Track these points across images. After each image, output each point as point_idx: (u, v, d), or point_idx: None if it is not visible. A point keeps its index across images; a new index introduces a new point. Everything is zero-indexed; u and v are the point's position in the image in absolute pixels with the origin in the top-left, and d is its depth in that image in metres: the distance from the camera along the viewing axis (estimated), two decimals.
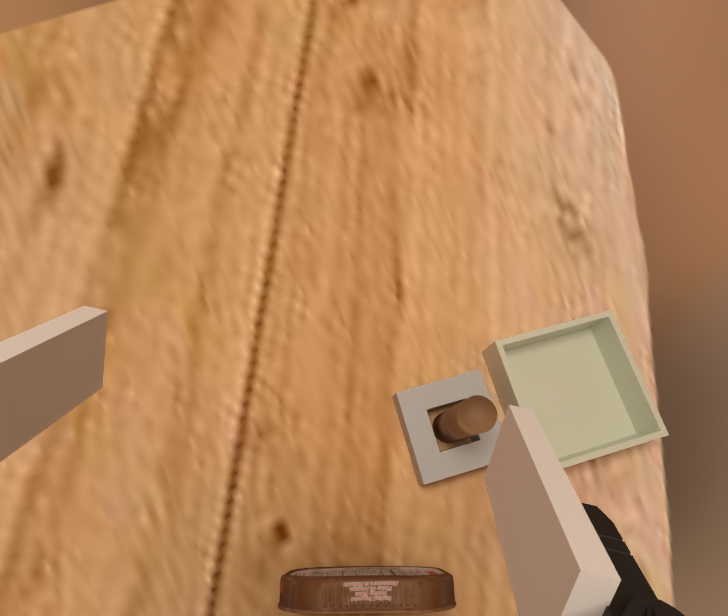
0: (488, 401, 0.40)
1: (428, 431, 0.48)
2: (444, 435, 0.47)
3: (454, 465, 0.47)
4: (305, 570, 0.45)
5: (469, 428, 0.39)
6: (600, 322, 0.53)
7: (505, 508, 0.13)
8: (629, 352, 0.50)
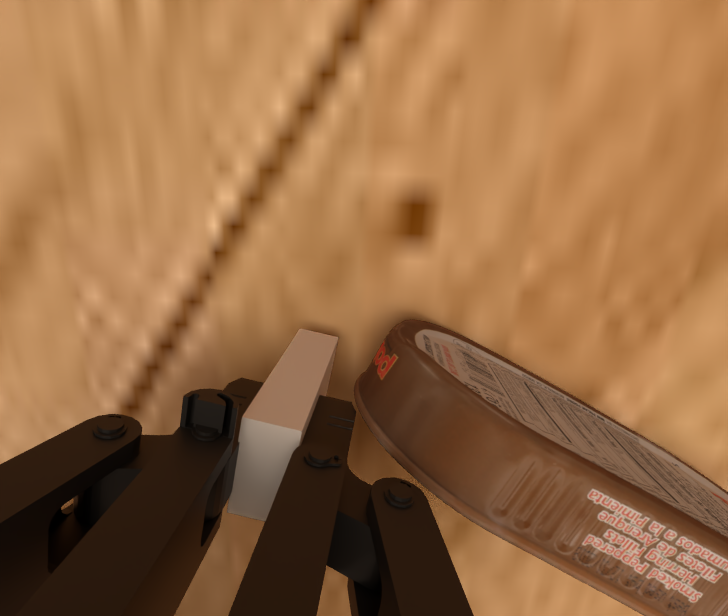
0: None
1: None
2: None
3: None
4: (441, 334, 0.17)
5: None
6: None
7: None
8: None
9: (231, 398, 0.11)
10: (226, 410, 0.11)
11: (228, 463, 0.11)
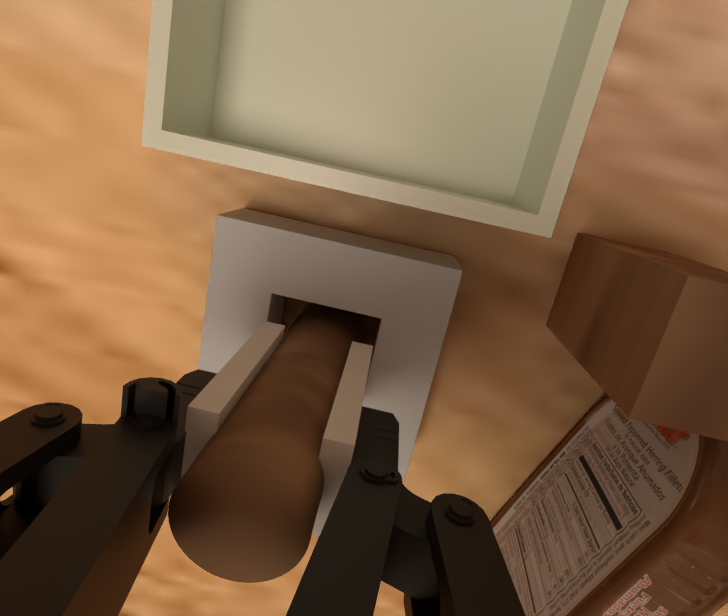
0: (211, 469, 0.10)
1: None
2: None
3: (402, 405, 0.19)
4: None
5: (272, 575, 0.10)
6: None
7: None
8: None
9: (173, 386, 0.11)
10: (168, 398, 0.11)
11: (173, 450, 0.11)
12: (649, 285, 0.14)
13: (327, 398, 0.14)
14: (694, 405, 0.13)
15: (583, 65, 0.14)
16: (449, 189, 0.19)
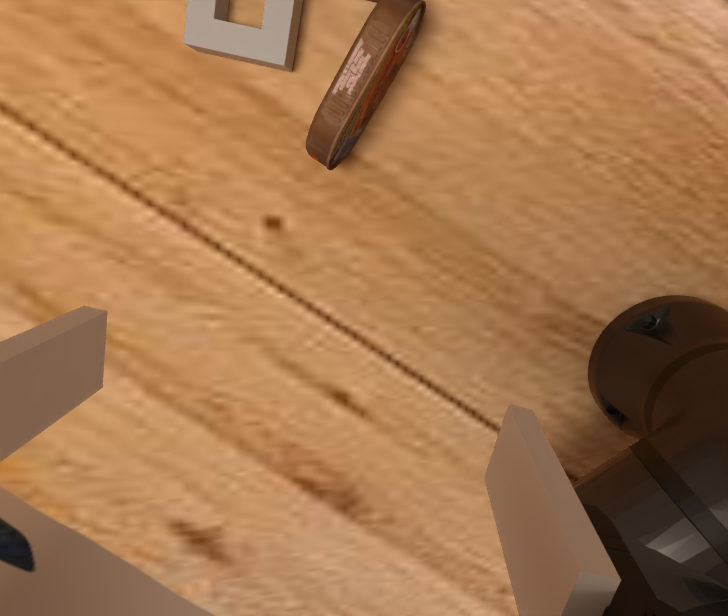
0: None
1: (236, 30, 0.42)
2: None
3: (280, 21, 0.41)
4: None
5: None
6: None
7: (505, 508, 0.13)
8: None
9: None
10: None
11: None
12: None
13: None
14: None
15: None
16: None
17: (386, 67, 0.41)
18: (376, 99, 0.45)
